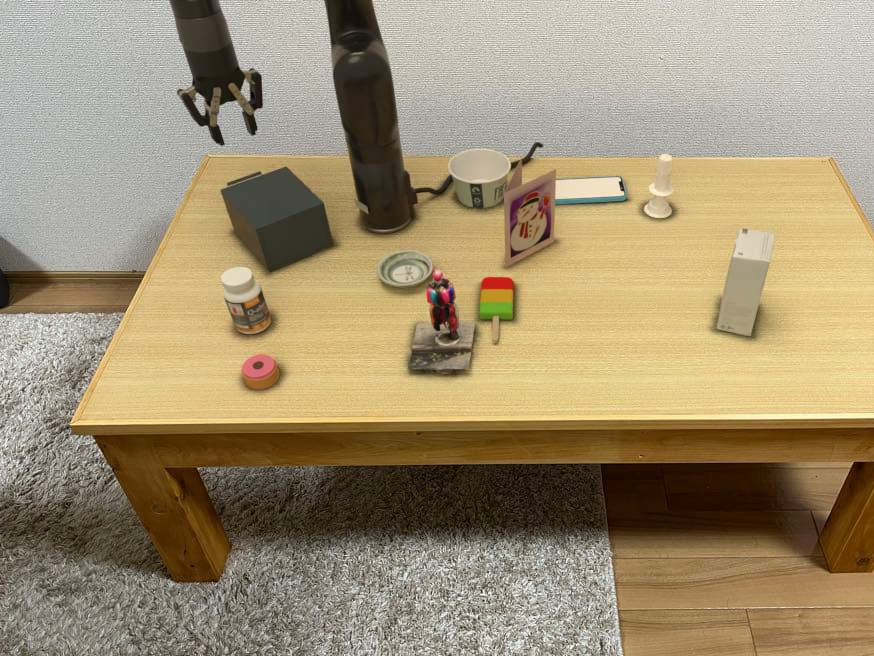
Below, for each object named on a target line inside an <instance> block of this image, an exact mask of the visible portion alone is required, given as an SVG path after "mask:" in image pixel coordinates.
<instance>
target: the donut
mask: <svg viewBox="0 0 874 656" xmlns="http://www.w3.org/2000/svg"><path fill="white" fill-rule="evenodd" d="M241 375H242V377H243V380H244V382H245V385H246V386H247V387H248V388H251V389H253V390H265V389H267V388H270V387H273V386H274V385H275V384H276V383H277V382H278V381H279V379H280V378H281V377H280V376H281V372H280V369H279V366H278V363H277V361H276V359H274V358H273V357H272V356H271V355H269V354H255V355H252V356H250V357H248V358H247V359H246V360H245V361H244V362H243V364H242V366H241Z"/></svg>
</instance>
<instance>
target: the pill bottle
mask: <svg viewBox="0 0 874 656" xmlns="http://www.w3.org/2000/svg"><path fill="white" fill-rule="evenodd" d="M220 280H221V284H222V286H223V290H222V295H223V296H222V297H223V298H224V302H225V304H226V306H227V309H228V312H229V314H230V317H231V319H232V322H233V325H234V327H235V329H236V330H237V331H238V332H240V333H241V334H244V335H255V334H258V333H261V332H263V331H265V330H266V329H267V328H268V327H269V326H270V324H271V322H272V317H271V314H270V313H271V312H270V310H269V308H268V304H267V301H266V298H265V295H264V291H263V289H262V286H261V284H260V283H259V282H258V281H257V280H256V279H255V276H254V274H253V271H252V270H251V269H250V268H248V267H246V266H235V267H234V266H233V267H230V268H228V269H227V270H225V271H224V272H223V273H222V275H221V276H220Z"/></svg>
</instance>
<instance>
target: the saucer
mask: <svg viewBox="0 0 874 656" xmlns="http://www.w3.org/2000/svg"><path fill="white" fill-rule="evenodd" d="M433 270H434V262H433V260H432V258H431V257H430V256H429V255H428V254H426V253H424V252H421V251H419V250H415V249H401V250H396V251H392V252H391V253H388V254H387V255H385V256H384V257H382V259H380V261H379V262H378V263H377V266H376V275H377V276H378V278H379V280H380V281H382V282H383V283H384V284H386V285H388V286H390V287H391V286H392V287H395V288H401V289H402V288H413V287H415V286H419V285H420V284H422V283H423V282H425V281H426V280H428V279H429V278H430V277H431V275H433Z"/></svg>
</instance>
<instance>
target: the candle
mask: <svg viewBox="0 0 874 656" xmlns="http://www.w3.org/2000/svg"><path fill="white" fill-rule="evenodd" d="M655 172H656V175H655V182H653V183H651V184H649V186H648V191H649V193H651V194H652V195H654V197H653V198H651V199H650V200H649V202H648V203H647V204H645V205H644V207H643V211H644V213H645V214H646V215H647V216H649V217H651V218H653V219H665V218H667V217H669V216H671V215H672V212H673V209H672V207H671V206H670V203H669V201H668V200H667V198H666V197H669V196H671V195H673V193H674V192H675V189H674V187H673V186H672V185H671V184H670V180H671V174H672V172H673V156H672V155H671V154H669V153H662V154H660V155H659V157H658V160H657V164H656V168H655Z"/></svg>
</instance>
